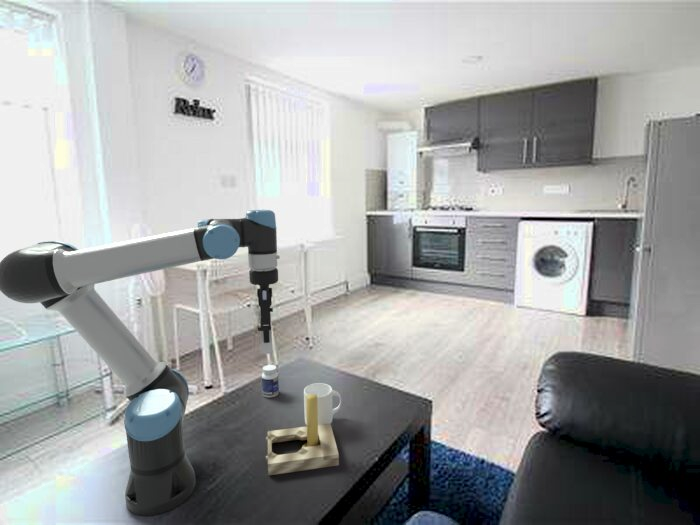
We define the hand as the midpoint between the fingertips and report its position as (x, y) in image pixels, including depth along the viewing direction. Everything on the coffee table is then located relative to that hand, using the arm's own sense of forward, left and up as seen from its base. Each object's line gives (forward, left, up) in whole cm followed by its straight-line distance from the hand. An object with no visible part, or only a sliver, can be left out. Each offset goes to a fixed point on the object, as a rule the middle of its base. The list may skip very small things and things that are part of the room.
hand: (267, 343), depth 111 cm
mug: (+16, +5, -29) cm, 33 cm away
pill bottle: (0, +25, -29) cm, 38 cm away
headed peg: (+11, -9, -29) cm, 32 cm away
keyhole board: (+8, -9, -29) cm, 31 cm away
